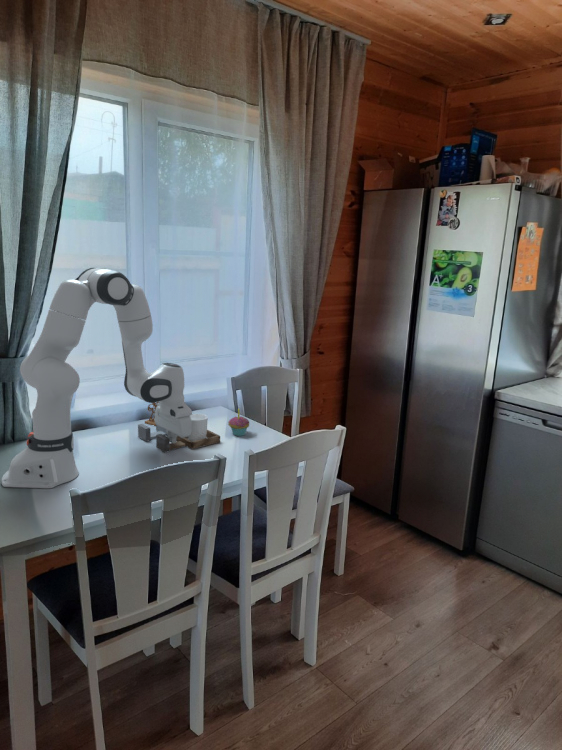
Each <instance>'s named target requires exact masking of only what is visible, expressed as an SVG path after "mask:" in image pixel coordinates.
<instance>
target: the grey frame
mask: <svg viewBox="0 0 562 750" xmlns="http://www.w3.org/2000/svg"><path fill="white" fill-rule="evenodd" d="M155 430H156V431H155V432H151V427H149V426H148V425H147V424H145V423H140V424H137V435H138V436H137V437H138V438H140V439H141V440H143V441H145V442H149V441H151V440H153V439H156V435H158V434H162V435H164V436H166V437H168V436H167V433H166V429H164V428H162V427H160V426H158V425H156V426H155Z"/></svg>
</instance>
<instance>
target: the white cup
mask: <svg viewBox="0 0 562 750" xmlns="http://www.w3.org/2000/svg"><path fill="white" fill-rule="evenodd" d="M190 417H191V435H190V436H189V437H188V438H187V439H188V440H190V441H192V442H193V441H197V440H201V439H205V438H207V437H206V435H207V430H208V423H209V422H208V421H209V420H208V419H209V418H208V415H206V414H203V413H193V414H192V415H190Z"/></svg>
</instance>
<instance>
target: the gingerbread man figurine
mask: <svg viewBox="0 0 562 750" xmlns="http://www.w3.org/2000/svg"><path fill="white" fill-rule="evenodd" d="M158 402H159V401H158ZM158 402H155V403H149V404H148V406H147V411H148V412H151V414H150V417H149V419H147V420H145V421H144V425H149V426H152V425H154V426H153V427H156V423H155V415H154V414H155V410H156V407H157V403H158ZM151 405H153V406H152V407H151ZM152 416H153V417H152Z"/></svg>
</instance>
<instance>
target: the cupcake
mask: <svg viewBox="0 0 562 750" xmlns="http://www.w3.org/2000/svg"><path fill="white" fill-rule="evenodd" d="M240 414H241V413H240V407H238V409H237V416H234V417H232V418H230V419H229V420H228V424H227V425H228V426H229V427H230V428H231V430H232V435H233V436H235V435H236V436H237V437H242V436H243V437H244V436H245V435H246V432H247V429H248V428H249V427H250V421H249V419H247V418H245V417H244V416H241V415H240Z"/></svg>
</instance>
